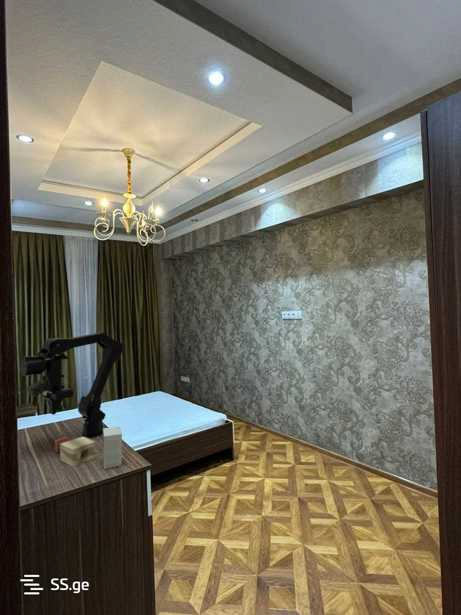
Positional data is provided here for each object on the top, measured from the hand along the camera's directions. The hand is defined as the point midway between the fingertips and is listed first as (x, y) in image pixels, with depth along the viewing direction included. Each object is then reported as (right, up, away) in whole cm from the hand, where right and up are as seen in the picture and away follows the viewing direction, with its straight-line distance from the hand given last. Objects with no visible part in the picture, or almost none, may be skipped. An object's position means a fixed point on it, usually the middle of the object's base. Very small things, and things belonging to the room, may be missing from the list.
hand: (53, 414), depth 120 cm
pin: (+9, -12, -7) cm, 17 cm away
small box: (+27, -12, -13) cm, 32 cm away
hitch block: (+14, -12, -11) cm, 21 cm away
